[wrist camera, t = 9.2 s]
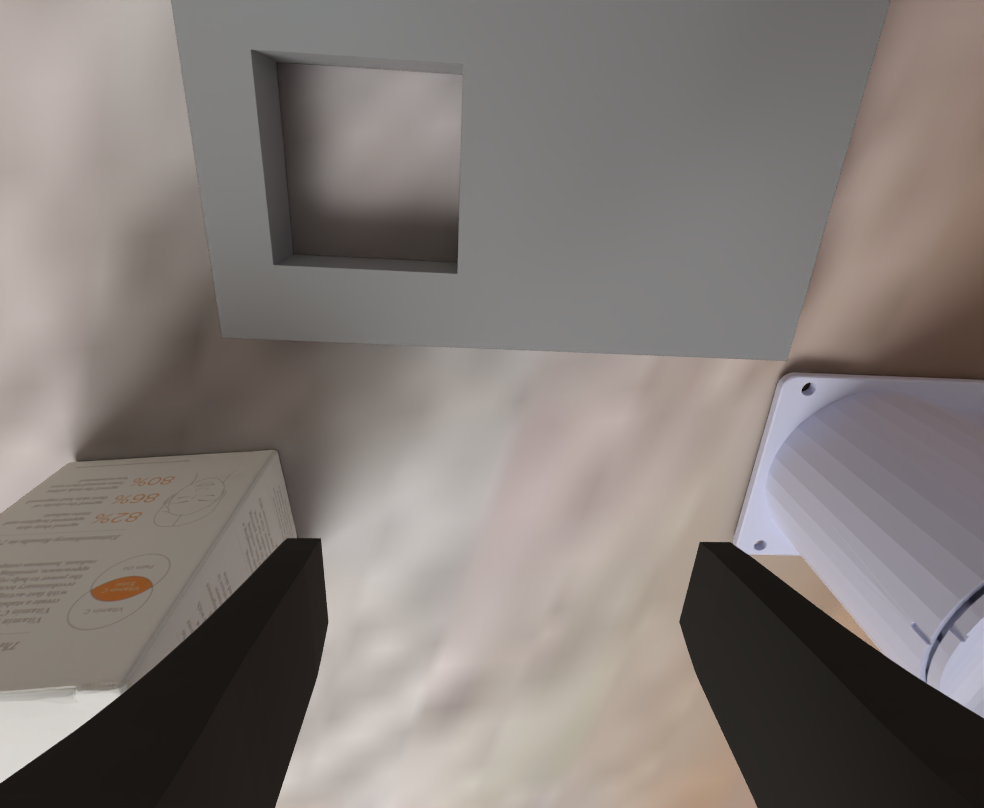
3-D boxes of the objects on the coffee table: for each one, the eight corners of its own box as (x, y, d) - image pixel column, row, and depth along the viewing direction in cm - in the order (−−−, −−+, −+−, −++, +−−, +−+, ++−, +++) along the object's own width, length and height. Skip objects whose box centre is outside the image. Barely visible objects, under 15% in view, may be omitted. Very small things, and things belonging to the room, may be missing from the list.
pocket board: (844, 7, 16) (893, -14, 14) (757, 342, 20) (786, 361, 18) (198, -43, 15) (160, -71, 13) (246, 320, 19) (221, 337, 17)
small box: (116, 573, 23) (-139, 869, 13) (68, 456, 21) (-280, 713, 11) (308, 562, 23) (192, 849, 14) (282, 445, 21) (120, 690, 11)
